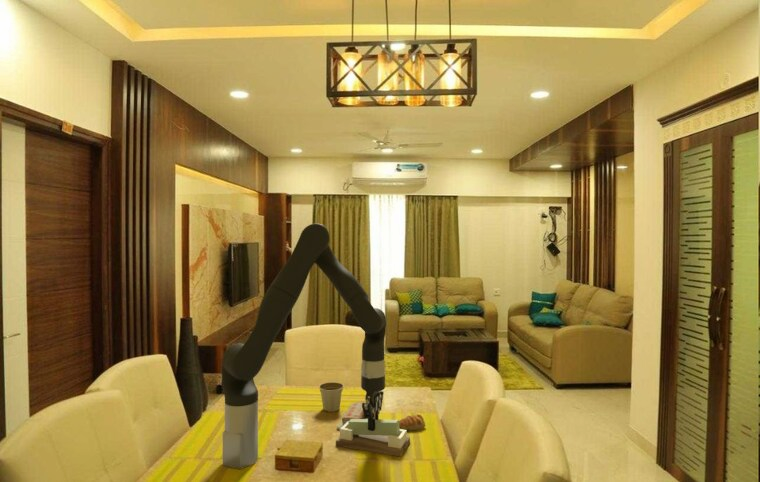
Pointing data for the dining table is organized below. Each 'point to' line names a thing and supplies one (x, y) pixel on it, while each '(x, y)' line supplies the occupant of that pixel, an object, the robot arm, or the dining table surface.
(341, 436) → the cap far
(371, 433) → the slat
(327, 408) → the flower pot
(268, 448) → the dining table surface
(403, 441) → the cap near
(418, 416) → the pastry
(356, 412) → the packaged product
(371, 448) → the board
